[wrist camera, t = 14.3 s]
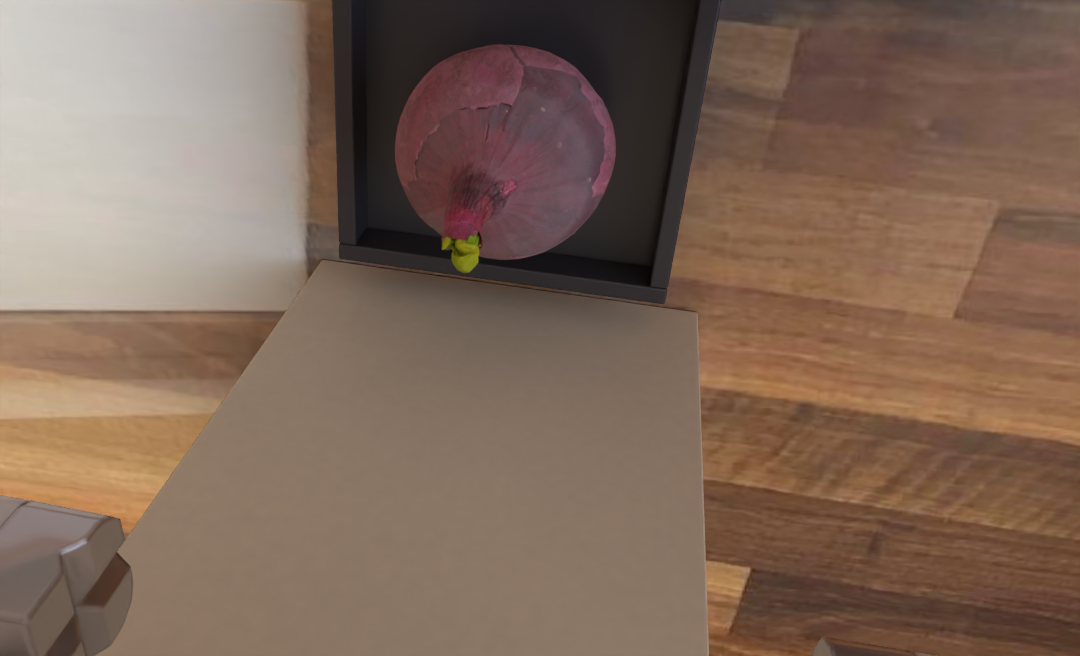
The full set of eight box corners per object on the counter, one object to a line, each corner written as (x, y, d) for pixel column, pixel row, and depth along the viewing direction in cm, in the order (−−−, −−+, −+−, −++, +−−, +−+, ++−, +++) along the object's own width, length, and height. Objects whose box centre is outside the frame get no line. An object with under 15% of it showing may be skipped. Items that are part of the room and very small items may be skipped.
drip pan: (353, -106, 28) (328, -95, 26) (726, -62, 27) (730, -48, 26) (358, 230, 34) (339, 259, 32) (665, 272, 33) (664, 305, 31)
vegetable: (394, 125, 31) (287, 266, 22) (497, -32, 28) (419, 62, 19) (543, 231, 32) (495, 401, 24) (657, 91, 29) (648, 229, 21)
